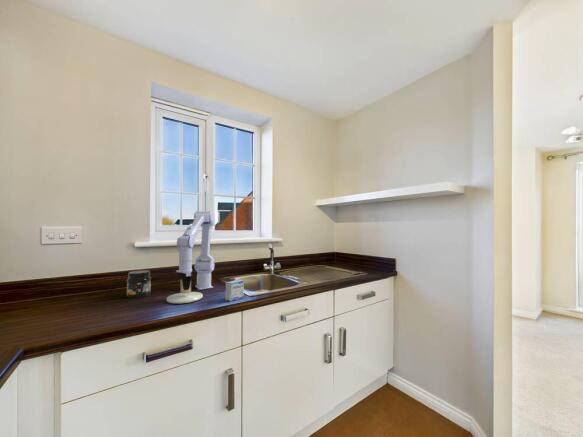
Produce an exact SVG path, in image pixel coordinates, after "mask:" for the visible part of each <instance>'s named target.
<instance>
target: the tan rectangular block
mask: <svg viewBox="0 0 583 437" xmlns="http://www.w3.org/2000/svg"><path fill="white" fill-rule="evenodd" d="M179 283H180V292H179V293H182V294H185V293H191V292H192V281H191V282H190V286H189V290H184V289H183V283H182V280H181V282H179Z"/></svg>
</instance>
